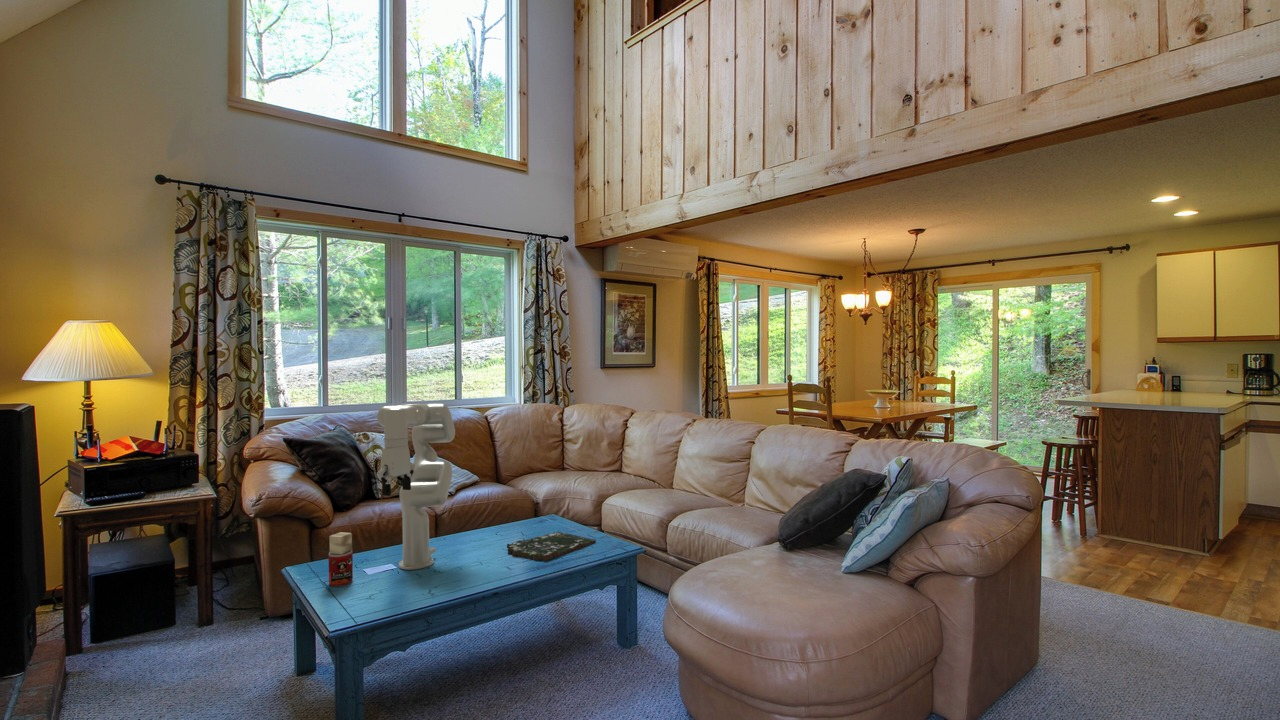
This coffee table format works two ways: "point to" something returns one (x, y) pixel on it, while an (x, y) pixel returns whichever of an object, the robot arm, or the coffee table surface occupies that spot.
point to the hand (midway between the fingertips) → (396, 492)
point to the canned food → (340, 568)
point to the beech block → (340, 543)
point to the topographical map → (548, 546)
